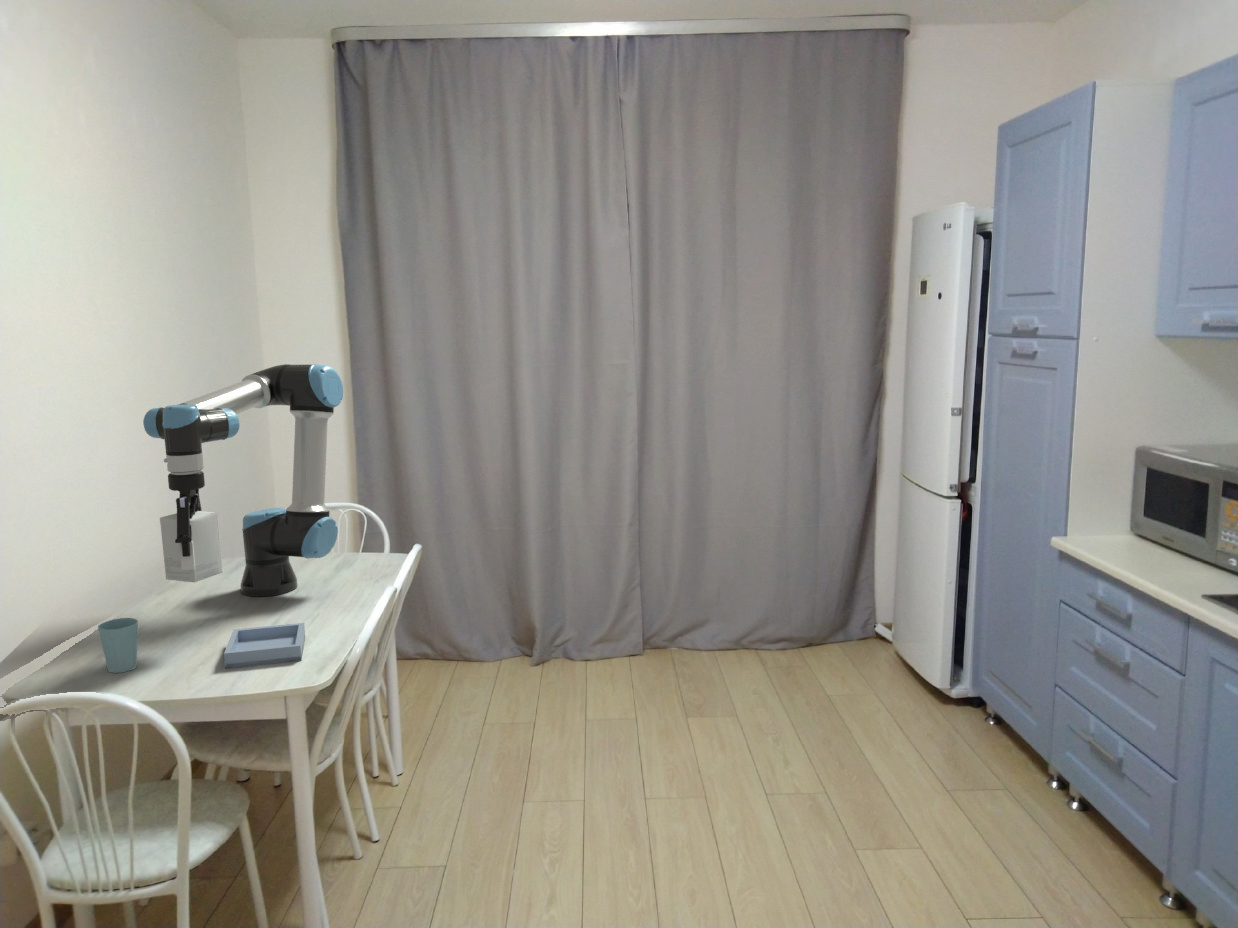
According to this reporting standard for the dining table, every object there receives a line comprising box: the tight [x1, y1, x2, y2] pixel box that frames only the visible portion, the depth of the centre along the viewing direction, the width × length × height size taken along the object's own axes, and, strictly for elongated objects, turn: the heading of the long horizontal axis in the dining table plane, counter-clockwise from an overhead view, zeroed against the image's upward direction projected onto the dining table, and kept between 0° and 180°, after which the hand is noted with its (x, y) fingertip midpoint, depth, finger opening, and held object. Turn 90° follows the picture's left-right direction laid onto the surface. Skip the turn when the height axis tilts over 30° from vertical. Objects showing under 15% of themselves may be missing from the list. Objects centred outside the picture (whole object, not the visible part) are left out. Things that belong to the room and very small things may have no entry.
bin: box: [223, 622, 306, 670], centre depth 204 cm, size 16×16×4 cm
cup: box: [97, 617, 139, 674], centre depth 194 cm, size 8×8×10 cm
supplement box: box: [159, 510, 223, 583], centre depth 205 cm, size 9×9×15 cm
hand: (193, 562), depth 206 cm, fingers closed on supplement box, 12 cm apart
